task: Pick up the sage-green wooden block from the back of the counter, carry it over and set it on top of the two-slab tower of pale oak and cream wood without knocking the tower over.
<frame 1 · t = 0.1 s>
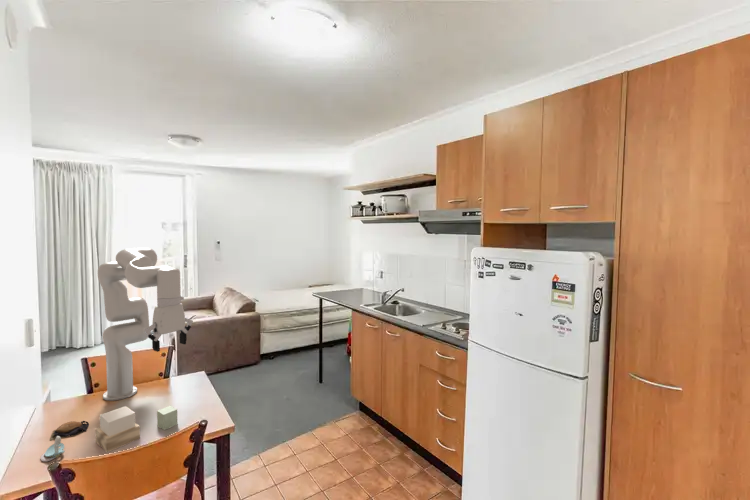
hand: (170, 347, 135), 31 cm above the table, tool pointing down, fingers open, 9 cm apart
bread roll: (69, 433, 133), on the table
sage block: (167, 425, 139), on the table
pacifier: (52, 456, 119), on the table
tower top: (117, 427, 128), point 5 cm above the table, touching tower base
tower base: (118, 441, 129), on the table, touching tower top
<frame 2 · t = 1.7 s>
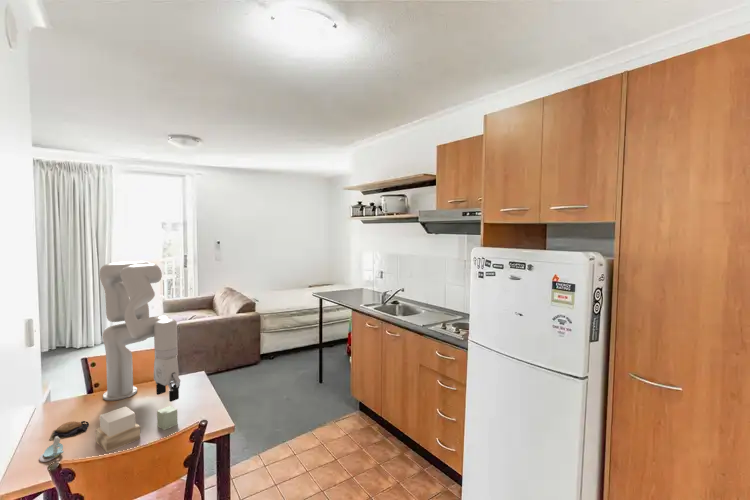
hand: (167, 396, 138), 11 cm above the table, tool pointing down, fingers open, 9 cm apart
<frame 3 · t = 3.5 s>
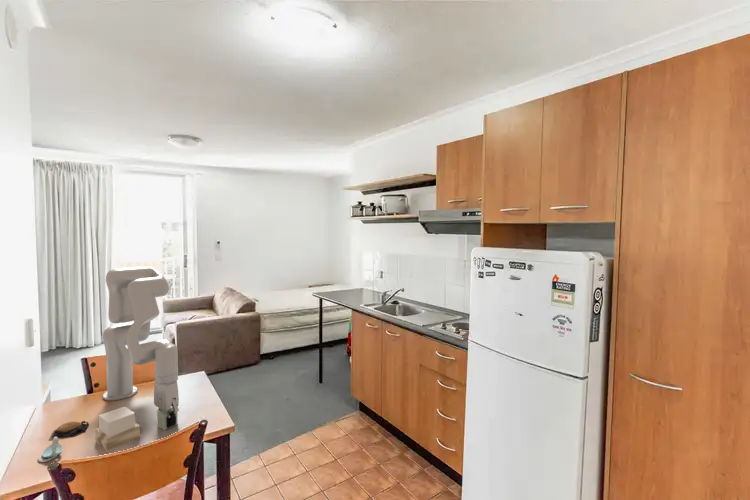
hand: (167, 423, 139), 1 cm above the table, tool pointing down, fingers closed on sage block, 5 cm apart
sage block: (167, 425, 139), on the table, touching gripper
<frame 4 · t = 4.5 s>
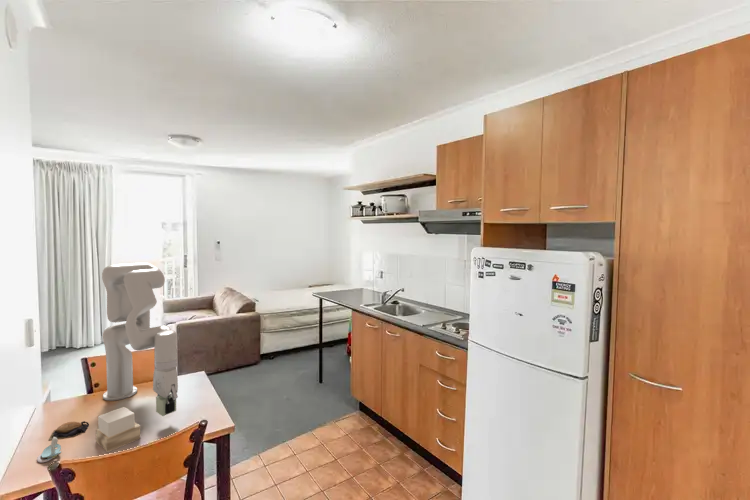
hand: (166, 409, 139), 6 cm above the table, tool pointing down, fingers closed on sage block, 5 cm apart
sage block: (166, 411, 139), point 5 cm above the table, touching gripper
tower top: (116, 428, 128), point 5 cm above the table
tower base: (118, 441, 129), on the table
everything else where it was.
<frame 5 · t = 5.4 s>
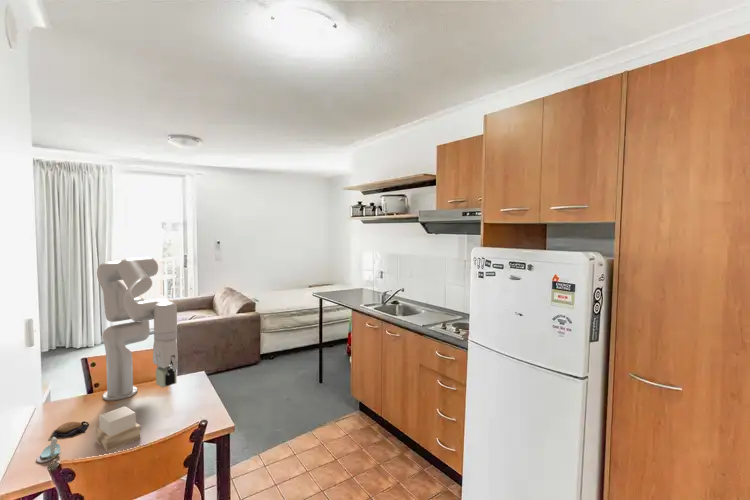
hand: (166, 381, 138), 17 cm above the table, tool pointing down, fingers closed on sage block, 5 cm apart
sage block: (166, 383, 138), point 16 cm above the table, touching gripper
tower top: (117, 427, 128), point 5 cm above the table, touching tower base
tower base: (118, 440, 129), on the table, touching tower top
everything else where it was.
when the fingers open (12 cm above the table, at t = 7.9 s): sage block drops 1 cm, resting on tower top.
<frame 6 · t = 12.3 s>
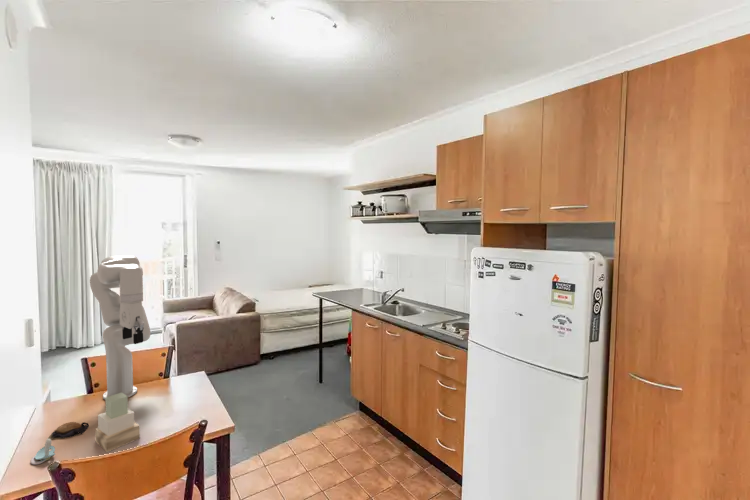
hand: (132, 340, 143), 30 cm above the table, tool pointing down, fingers open, 9 cm apart
sage block: (116, 413, 128), point 10 cm above the table, touching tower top
pacifier: (43, 459, 118), on the table
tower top: (116, 427, 128), point 5 cm above the table, touching sage block, tower base
everything else where it was.
at the end: sage block 0.2 cm off-centre on the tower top, point 5.0 cm above the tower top's base; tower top 0.3 cm off-centre on the tower base, point 5.0 cm above the tower base's base; the gripper is holding nothing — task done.
